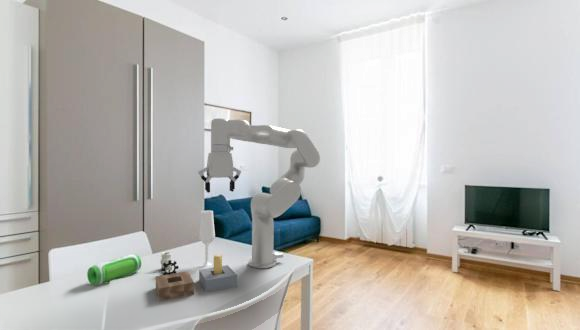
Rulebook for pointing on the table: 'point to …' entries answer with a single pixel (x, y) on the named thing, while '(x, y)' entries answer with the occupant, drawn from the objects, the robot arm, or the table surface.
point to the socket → (217, 278)
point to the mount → (174, 285)
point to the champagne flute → (206, 232)
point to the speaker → (113, 269)
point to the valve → (167, 263)
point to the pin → (217, 264)
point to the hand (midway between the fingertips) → (220, 191)
